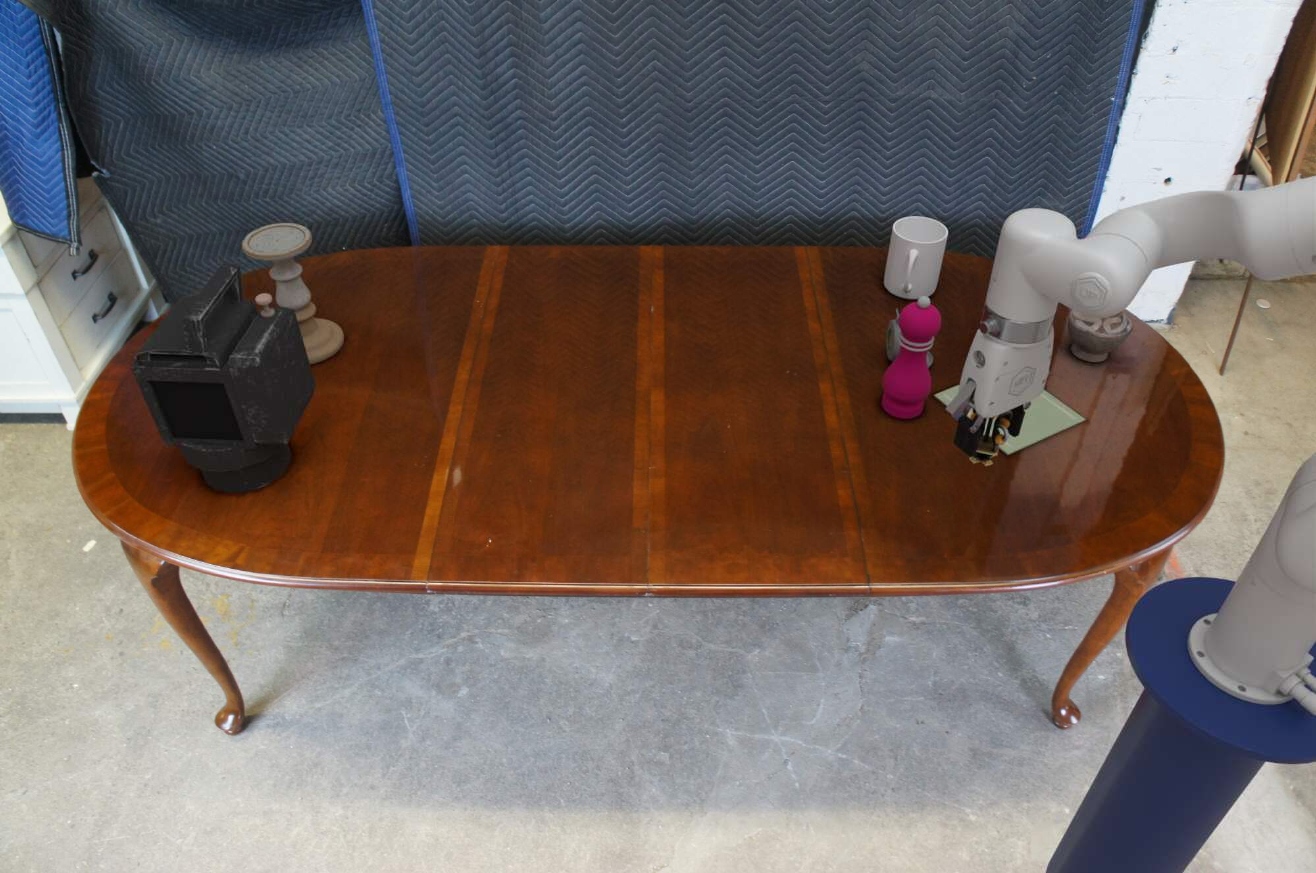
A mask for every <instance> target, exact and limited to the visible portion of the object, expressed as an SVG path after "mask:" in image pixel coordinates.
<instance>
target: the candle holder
mask: <svg viewBox="0 0 1316 873" xmlns="http://www.w3.org/2000/svg"><path fill="white" fill-rule="evenodd" d="M312 243H313V234H312V232H311V230H310V229H309V228H308V227H306V226H305V225H302V224H299V223H292V222H278V223H271V224H267V225H264V226H261V227H258V228H256V229H254V230H252V231H251V232H249V233H248V234H247V235H246V236H245V237H244V238H243V239H242V241H241V250H242V252H243V253H244V254H245V255H246V256H247V257H248V258H249V259H251V260H254V261H260V262H270V263H271V265H272V267H271V268H270V269H269V272H268V274H269V277H270V278H271V279H272V280H274V281H275V303H276V305H277V307H290V308H292V309H294V310H295V314H296V317H297V321H298V324H299V328H300V331H301V335H302V338H303V342H304V345H305V349H306V352H307V356H308V359H309V363H310V366H312V365H315V364H319V363H322V362H324V361H326V360H328V359H331V358H332V357H333V356H335V355H336V354H337V353H338V352H339V351H341V349H342V347H343V346H344V343H345V334H344V331H343V329H342V328H341V326H340V325H338V324H337V323H335V322H334V321H332V320H329V319H325V318H317V317H315V314H316V312H317V307H316V305H315V304H314V302H311V300H312V293H311V290H310V289H309V288H308V286H307V285H306V283H305V282H304V280H303V278H302V276H301V275H302V273H303V266H302V265H301V264H300V263H298V262H296V260H295V257H296V256H298V255H300V254H302V253H304V252H305V251H306V250H308V249H309V248H310V246H311V244H312Z"/></svg>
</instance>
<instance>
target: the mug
mask: <svg viewBox="0 0 1316 873" xmlns="http://www.w3.org/2000/svg"><path fill="white" fill-rule="evenodd" d="M948 236H949V230H948V227H946V226H945V225H944V224H943V223H942V222H941V221H939V220H936V219H934V218H930V217H926V216H918V215H916V216H905V217H902V218H899V219H897V220H896V221H895V222H894V223H893V225H892V230H891V235H890V240H889V247H888V251H887V252H888V253H887V258H886V265H885V269H884V270H885V271H884V277H883V285H884V287H885V289H886V290H887V291H888V292H889V293H890V294H891V295H893V296H895V297H898V298H901V299H903V300H909V301H910V300H911V301H913V300H914V301H915V300H916V301H918V299H919V298H920V297H921V296H927V297H928V298H929V297H930V296H932V295H933V294H934V293H935V291H936V289H937V286H938V284H939V283H938V282H939V279H940V273H941V269H942V264H943V260H944V255H945V250H946V246H947V240H948Z"/></svg>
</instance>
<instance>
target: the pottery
mask: <svg viewBox="0 0 1316 873" xmlns="http://www.w3.org/2000/svg"><path fill="white" fill-rule="evenodd" d="M1067 330H1068V335H1069V338H1070V340H1071V341H1072V345H1071V347H1070V351H1071V353H1072V354H1073V355H1074V356H1076V358H1078V359H1080V360H1082V361H1086V362H1090V363H1100V362H1103V361H1105V360H1106V359H1108V357H1109V353H1111V352H1113V351H1114V350H1116V349H1117V348H1119V347H1120V346H1122V344H1123V343H1124V342H1125V341H1126V340H1127V339H1128V338H1129V337H1130V335H1131V334H1132V332H1133V330H1134V323H1133V321H1132V320H1131V319H1130V317H1128V315H1126V314H1125V313H1124V311H1122V312H1120V313H1119V314H1117V315H1114V316H1111V317H1107V318H1095V317H1090V316H1086V315H1083V314H1081V313H1079V312H1076V311H1074V310H1072V309H1070V310H1069V311H1068V314H1067Z"/></svg>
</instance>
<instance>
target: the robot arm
mask: <svg viewBox="0 0 1316 873" xmlns="http://www.w3.org/2000/svg"><path fill="white" fill-rule="evenodd" d="M1218 259H1219V260H1228V261H1232V262H1236V263H1238V264H1240V265H1241V266H1243V267H1245V268H1246V269H1247V270H1248V271H1249V272H1250V273H1251V274H1252V276H1254V277H1255V278H1256V279H1258V280H1262V281H1267V282H1269V281H1271V282H1272V281H1277V280H1278V281H1280V280H1284V279H1289V278H1295V277H1300V276H1305V275H1310V274H1314V273H1315V274H1316V175H1313V176H1312V175H1311V176H1309V177H1303V178H1300V179H1296V180H1292V181H1287V182H1284V183H1280V184H1279V183H1278V184H1275V185H1271V186H1268V187H1267V186H1266V187H1263V188H1258V189H1257V188H1256V189H1253V190H1238V189H1229V190H1227V189H1226V190H1225V189H1223V190H1197V191H1188V192H1183V193H1178V194H1174V195H1170V196H1165V197H1162V198H1159V199H1154V200H1150V201H1147V202H1142V203H1139V204H1136V205H1131V206H1128V207H1125V208H1121V209H1119V210H1117V211H1115V212H1112V213H1111V214H1108V215H1107V216H1105V217H1104V218H1102V219H1101V220H1100V221H1098V222H1097V223H1096V225H1094V227H1093V228H1092V229H1091V230H1090V231H1089V232H1088V233H1087V235H1086V236H1085V237H1084V238H1082V239H1080V238H1078V237H1077V230H1076V226H1075V224H1074V222H1073V221H1072V220H1071V219H1070V218H1068V217H1067V215H1064V214H1063V213H1061V212H1058V211H1055V210H1053V209H1047V208H1041V207H1030V208H1029V207H1028V208H1023V209H1020V210H1017V211H1015V212H1012V213H1011V214H1010V215H1008V217H1007V218H1006V219H1005V221H1004V223H1003V224H1002V227H1001V231H1000V234H999V239H998V244H997V248H996V252H995V257H994V261H993V266H992V270H991V275H990V279H989V283H988V288H987V293H986V297H985V301H984V306H983V310H982V314H981V319H980V322H979V325H978V329H977V330H976V333H975V336H974V338H973V340H972V343H971V345H970V348H969V351H968V353H967V356H966V359H965V362H964V365H963V369H962V373H961V376H960V379H959V380H960V381H959V384H958V385H959V392H958V395H957V396H956V397H955V398H954V399H953V400H952V401H951V403H950V404H949V405H948V406H945V409H944V412H945V413H946V414H947V415H948V416H949V417H950V418H952V419H953V420H954V421H956V422H957V426H956V431H955V435H954V439H953V444H954V446H956V447H957V448H958V449H960V451H962V452H963V453H965V454H966V455H967V456H968V457H969V458H970V457H973V456H975V455H976V452H977V448H978V444H979V440H980V436H981V431H980V430H979V429H978V428H979V427H980V425H981V423H982V421H983V420H984V418H990V417H994V416H997V415H999V414H1002V413H1004V412H1006V411H1009V410H1010V411H1011V412H1012V414H1013V415H1012V418H1011V420H1010V421H1009V422H1010V425H1009V427H1008V428H1007V430H1008V433H1009V434H1010V435H1011V436H1012V437H1017V436H1019V433H1020V430H1021V426H1022V423H1023V419H1024V416H1025V411H1024V410H1027V409H1028V408H1029V407H1030V406H1031V400H1033V399H1035V398H1037V397H1038V396H1039V395H1040V394H1041V393H1042V392H1043V389H1044V390H1045V386H1046V383H1047V379H1048V377H1049V376H1050V374H1051V372H1050V366H1051V360H1052V356H1053V349H1054V340H1055V330H1054V325H1053V324H1054V320H1055V315H1056V312H1057V309H1058V305H1059V304H1062V305H1064V306H1065V307H1067V308H1068V309H1070V310H1071V309H1072V310H1074V311H1076V312H1079V313H1081V314H1083V315H1086V316H1090V317H1095V318H1107V317H1111V316H1114V315H1117V314H1119V313H1120V312H1124V311H1125V310H1126V309H1127V308H1128V307H1129V306H1130V304H1132V302H1133V301H1134V300H1135V298H1136V296H1137V294H1139V292H1140V291H1141V289H1142V287H1143V286H1144V284H1145V283H1146V281H1147V280H1148V278H1149V276H1150V275H1151V274H1152V272H1153V271H1154V270H1157V269H1161V268H1166V267H1171V266H1174V265H1180V264H1185V263H1189V262H1190V263H1191V262H1196V261H1202V260H1218ZM971 408H972V409H974V410H975V411H976V412H977V413H976V415H975V417H974V419H973V420H971V419H970V418H969V417H967V415H968V413H969V411H970V409H971ZM1007 417H1008V414H1007V415H1005V416H1003V417H1002V418H1007ZM1002 418H1001V419H1002ZM1235 582H1236V583H1235V585H1234V586H1233V588H1232V590H1231V591H1230V593H1229V595H1228V597H1227V598H1226V600H1225V602H1224V603H1223V605H1222V607H1221V609H1220V610H1219V612H1218V613H1216V614H1210V615H1208V616H1205V617H1203V618H1201V619H1200V620H1198V621H1197V622H1196V623H1195V624H1194V626H1193V627H1192V629H1191V631H1190V633H1189V635H1188V640H1187V645H1188V651H1189V654H1190V657H1191V659H1192V661H1193V663H1194V664H1195V666H1196V667H1197V668H1198V670H1199V671H1200V672H1201V674H1203V675H1204V676H1205V677H1206V678H1207V679H1208V680H1209V681H1210V682H1211V683H1213V684H1214V685H1215V686H1217V687H1218V688H1219V689H1221V690H1223V691H1224V692H1226V693H1228V694H1230V695H1232V696H1234V697H1237V698H1239V699H1241V700H1245V701H1248V702H1252V703H1257V704H1263V705H1275V704H1281V703H1285V702H1287V701H1290V700H1292V699H1293V698H1295V699H1296V700H1297V701H1299V702H1300V704H1301V705H1302V706H1303V707H1304V708H1306V709H1307V710H1308V711H1309V712H1311V713H1312V714H1313V715H1316V694H1315V693H1314V692H1316V678H1315V677H1314V676H1312V675H1311V674H1310V673H1311V671H1310V670H1309V669H1308V668H1307V667H1308V666H1309V665H1310V663H1311V662H1312V660H1313V659H1314V657H1313V656H1311V655H1310V654H1309V653H1308V652H1309V651H1310V649H1311V648H1312V646H1313V645H1314V643H1315V642H1316V452H1315V453H1313V454H1311V456H1309V457H1308V458H1307V459H1306V460H1304V462H1303V463H1302V464H1301V465H1300V466H1299V468H1297V471H1295V474H1294V475H1293V477H1292V479H1291V481H1290V483H1289V484H1288V487H1287V489H1286V491H1285V493H1284V495H1283V497H1282V499H1281V501H1280V503H1279V505H1278V507H1277V508H1276V510H1275V513H1274V515H1273V517H1272V519H1271V520H1270V522H1269V524H1268V526H1267V528H1266V529H1265V531H1264V533H1263V535H1262V537H1261V538H1260V540H1259V542H1258V544H1257V545H1256V547H1255V548H1254V550H1253V552H1252V554H1251V555H1250V557H1249V559H1248V560H1247V562H1246V564H1245V566H1244V567H1243V569H1242V571H1241V572H1240V574H1239V576H1238V577H1237V579H1236V581H1235ZM1305 684H1306V685H1308V686H1309V687H1310V689H1312V690H1313V691H1314V692H1311V691H1310V690H1308V689H1307V688H1306V687H1304V685H1305Z"/></svg>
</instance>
